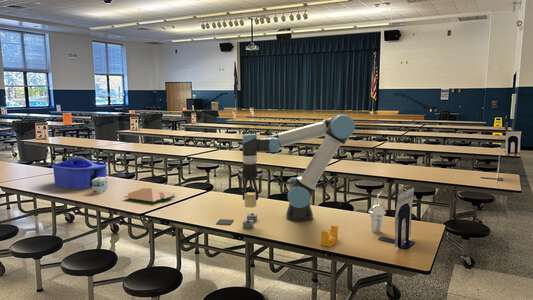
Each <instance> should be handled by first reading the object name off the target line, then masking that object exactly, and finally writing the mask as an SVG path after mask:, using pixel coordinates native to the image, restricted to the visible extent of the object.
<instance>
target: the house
mask: <svg viewBox="0 0 533 300" xmlns="http://www.w3.org/2000/svg"><path fill="white" fill-rule="evenodd" d="M127 194H128V195H125V196H124V198H127V199H130V200H131V202H134V201H135V200H138V201H139V203H140V202H141V203H142V201H143V202H144V203H147V202H150V203H154V204H157V203H160V202H163V200H164V201H165V200H166V201H168V200H169V198H170V200H171V198H175V196H176V195H177V193H175V192H170V191H165V190H161V189H156V188H153V187H152V188H151V187H148V188H147V187H144V188H140V189H136V190H134V191H130V192H128V193H127ZM146 201H147V202H146Z"/></svg>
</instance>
